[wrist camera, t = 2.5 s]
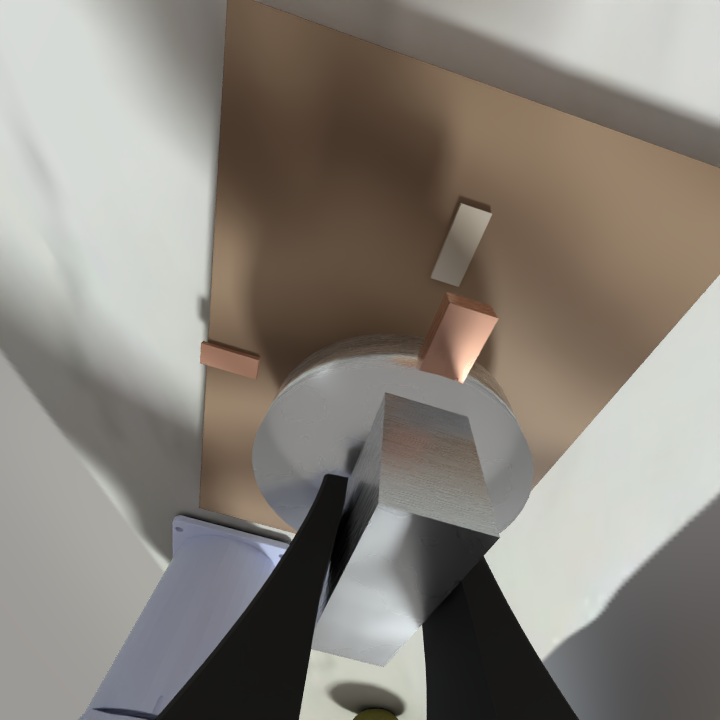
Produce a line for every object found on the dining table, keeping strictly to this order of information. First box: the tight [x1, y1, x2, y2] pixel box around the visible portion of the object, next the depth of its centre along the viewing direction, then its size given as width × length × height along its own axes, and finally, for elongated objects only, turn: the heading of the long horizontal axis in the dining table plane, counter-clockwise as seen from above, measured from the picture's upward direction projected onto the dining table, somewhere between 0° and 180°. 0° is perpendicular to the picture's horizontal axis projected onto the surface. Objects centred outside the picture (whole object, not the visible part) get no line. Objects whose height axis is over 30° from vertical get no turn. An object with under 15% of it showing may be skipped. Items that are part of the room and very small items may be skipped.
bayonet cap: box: [252, 292, 534, 667], centre depth 10 cm, size 11×9×6 cm
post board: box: [199, 0, 720, 534], centre depth 14 cm, size 22×16×3 cm
